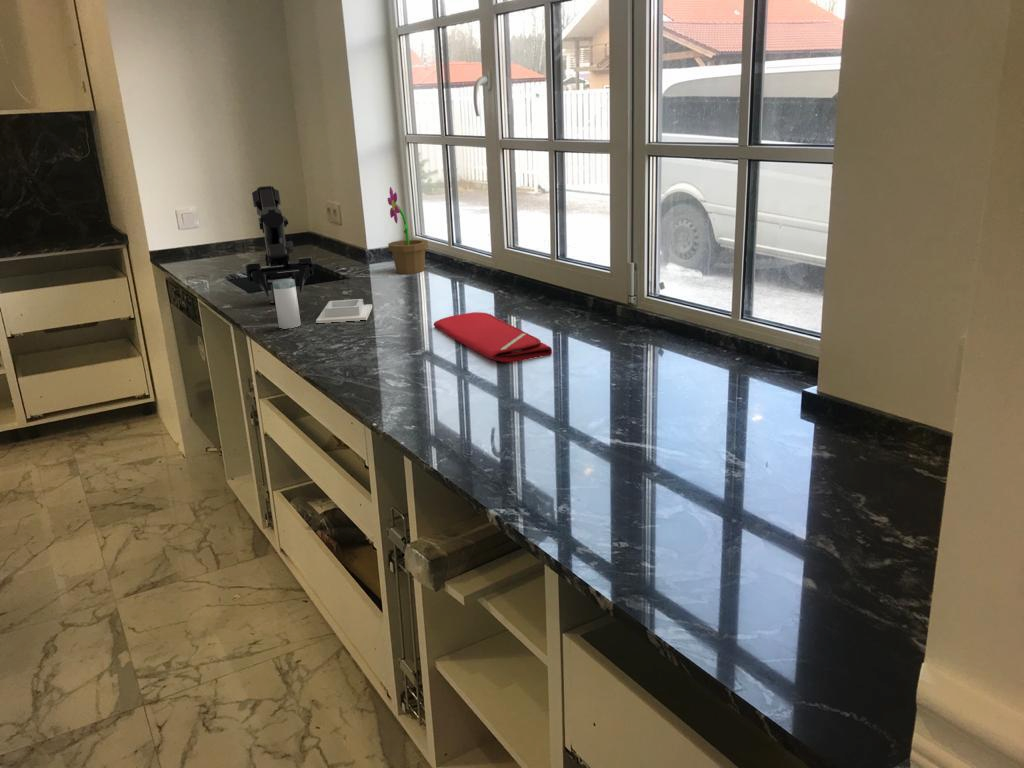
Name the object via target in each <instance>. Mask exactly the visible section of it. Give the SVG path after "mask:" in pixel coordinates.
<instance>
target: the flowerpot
mask: <svg viewBox="0 0 1024 768" xmlns="http://www.w3.org/2000/svg"><path fill="white" fill-rule="evenodd" d="M389 196H390V197H387V203H388V205H389V206H391V208H389V209H390V210H389V216H390V218H391V219H392V218H393V219H394V222H395V224H398V214H399V213H400V215H401V216H402V220H403V224H404V227H405V228H404V230H403V233H404V234H405V239H402V240H396V241H392V242H388V243H387V246H388V251H389V252H391V253H392V258H393V263H394V266H395V271H396V273H397V274H400V275H413V274H414V275H415V274H421V273H423V272H425V267H426V263H425V262H426V249H428V248H429V242H428V240H426V239H410V235H409V229H408V228H409V226H408V224H407V223H408V222H407V219H406V216H405V213H404V212H403V210H402V209H401V207H400V206H399V204H398V203H397V202H398V195H397V192H394V191H393V188H392V186H389Z"/></svg>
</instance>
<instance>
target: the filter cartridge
mask: <svg viewBox="0 0 1024 768" xmlns="http://www.w3.org/2000/svg"><path fill="white" fill-rule="evenodd" d="M295 280H296V279H295ZM295 280H294V279H280V280H275V281H273V282H272V284H273V290H274V297H275V304H274V305H275V310H276V316H277V322H278V323H277V324H278V329H279V328H282V329H287V328H294V327H298V326H300V325H301V326H302V323H301V317H300V315H301V314H300V307H299V302H298V301H299V300H298V294H297V288H296V287H297V286H296V281H295ZM282 329H281V330H282Z"/></svg>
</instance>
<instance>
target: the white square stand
mask: <svg viewBox="0 0 1024 768" xmlns="http://www.w3.org/2000/svg"><path fill="white" fill-rule="evenodd" d="M372 309H373V304H372V303H371V304H370V303H369V304H368V303H367V304H364V299H363V298H357V299H356V298H353V299H342V300H339V299H338V300H329V301H328V302H327V304H326V305H325V307H324V308H323V309H322V311H321V313H320V314H319V315H318V317H317V318H316V320H315V324H316V323H325V324H332V323H331V322H340V323H347V322H346V321H355V322H361V321H360V320H366V321H367V320H368V318H369V316H370V313H371V311H372Z"/></svg>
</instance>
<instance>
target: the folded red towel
mask: <svg viewBox="0 0 1024 768" xmlns="http://www.w3.org/2000/svg"><path fill="white" fill-rule="evenodd" d="M433 326H434V327H435V328H436V329H438V330H439V331H441V332H442V333H444V334H445V335H447V336H449V337H451V338H452V339H453V340H455V341H456V342H459V343H460V344H462V345H464V346H466V347H467V348H469V349H471V350H472V351H474V352H477V353H479V354H481V355H482V356H484V357H486V358H488V359H491V360H495V361H497V362H501V363H515V362H521V361H525V359H526V360H531V359H530V358H532V359H536V358H535V357H537V358H541V357H540V356H542V357H546V356H545V355H548V356H552V354H553V350H552V347H551V346H549V345H547V344H545V343H543V342H541V340H540V338H537V337H536V336H533V335H531V334H529V333H528V332H525V331H524V330H521V329H520V328H517V327H515V326H513V325H511V324H509V323H507V322H505V321H504V320H502V319H500V318H497V317H496V316H494V315H492V314H491V313H487V312H479V311H477V312H467V313H461V314H455V315H451V316H447V317H444V318H441V319H438V320H436V321H434V323H433ZM520 360H521V361H520Z"/></svg>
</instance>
